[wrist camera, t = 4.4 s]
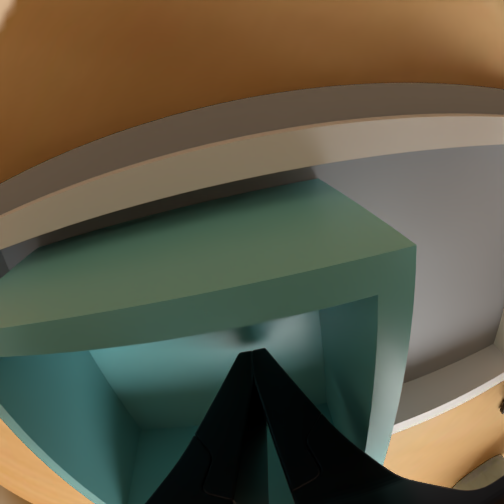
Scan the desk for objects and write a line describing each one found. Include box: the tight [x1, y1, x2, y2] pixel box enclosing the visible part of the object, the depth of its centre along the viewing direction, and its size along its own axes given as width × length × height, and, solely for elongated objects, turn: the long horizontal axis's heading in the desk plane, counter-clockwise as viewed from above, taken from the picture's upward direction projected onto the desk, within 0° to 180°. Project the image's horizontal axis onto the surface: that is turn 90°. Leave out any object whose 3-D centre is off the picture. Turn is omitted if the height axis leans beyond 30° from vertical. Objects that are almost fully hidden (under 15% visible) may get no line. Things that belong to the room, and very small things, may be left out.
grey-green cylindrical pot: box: [453, 455, 504, 490], centre depth 19 cm, size 10×10×12 cm
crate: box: [0, 178, 417, 504], centre depth 8 cm, size 9×9×5 cm
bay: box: [0, 83, 504, 434], centre depth 9 cm, size 22×14×4 cm, turn 102°
